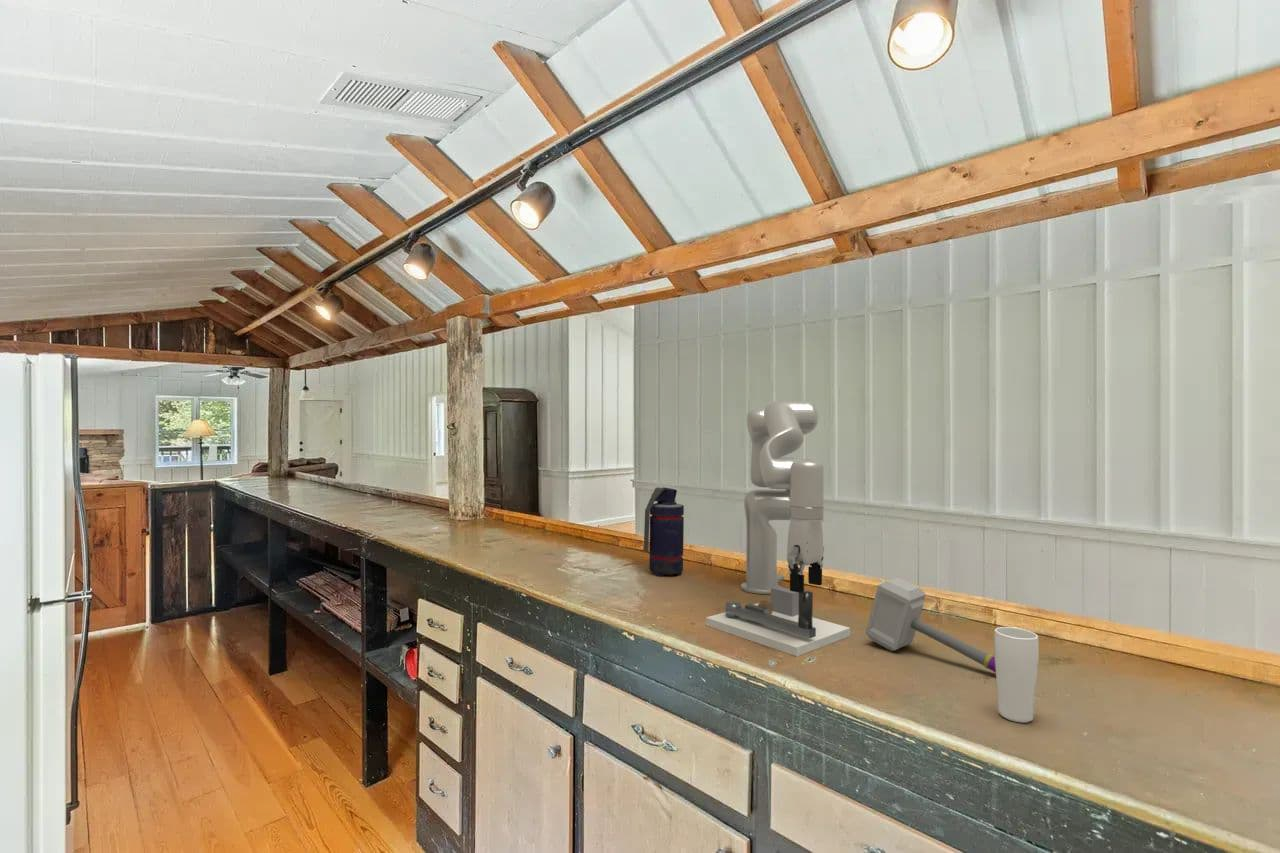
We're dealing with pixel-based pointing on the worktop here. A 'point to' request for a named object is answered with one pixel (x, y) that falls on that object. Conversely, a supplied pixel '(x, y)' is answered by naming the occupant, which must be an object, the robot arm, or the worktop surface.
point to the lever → (764, 617)
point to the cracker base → (776, 638)
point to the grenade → (664, 532)
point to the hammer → (910, 621)
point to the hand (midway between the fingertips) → (806, 587)
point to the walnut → (766, 606)
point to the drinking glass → (1016, 672)
